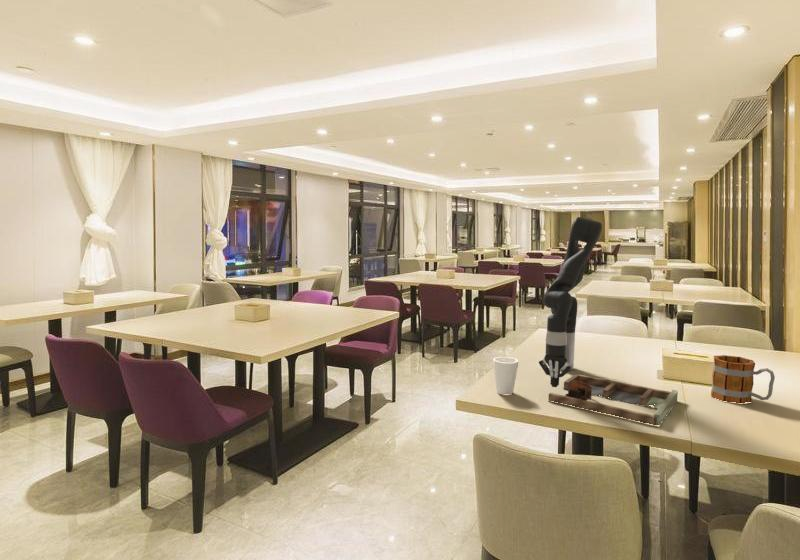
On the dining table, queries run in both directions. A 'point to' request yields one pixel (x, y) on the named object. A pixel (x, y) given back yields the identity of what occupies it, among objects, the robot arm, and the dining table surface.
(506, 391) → the foam cup
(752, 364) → the mug
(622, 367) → the dining table surface
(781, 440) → the dining table surface
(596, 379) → the wooden divided tray
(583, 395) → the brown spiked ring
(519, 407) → the dining table surface
